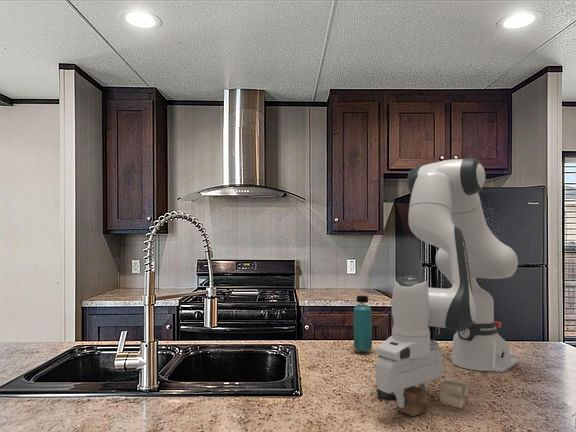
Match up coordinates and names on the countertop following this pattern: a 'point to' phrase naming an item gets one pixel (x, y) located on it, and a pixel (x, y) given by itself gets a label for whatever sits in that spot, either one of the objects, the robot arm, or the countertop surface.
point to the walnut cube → (414, 401)
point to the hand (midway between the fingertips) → (411, 403)
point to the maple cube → (453, 393)
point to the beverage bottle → (362, 325)
